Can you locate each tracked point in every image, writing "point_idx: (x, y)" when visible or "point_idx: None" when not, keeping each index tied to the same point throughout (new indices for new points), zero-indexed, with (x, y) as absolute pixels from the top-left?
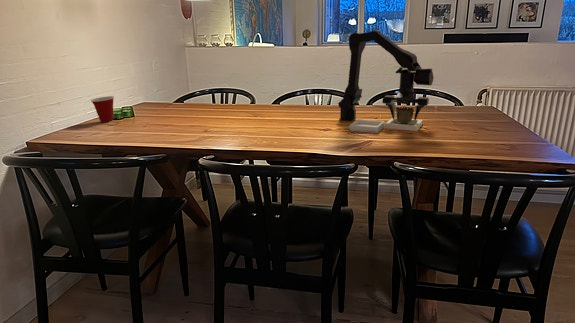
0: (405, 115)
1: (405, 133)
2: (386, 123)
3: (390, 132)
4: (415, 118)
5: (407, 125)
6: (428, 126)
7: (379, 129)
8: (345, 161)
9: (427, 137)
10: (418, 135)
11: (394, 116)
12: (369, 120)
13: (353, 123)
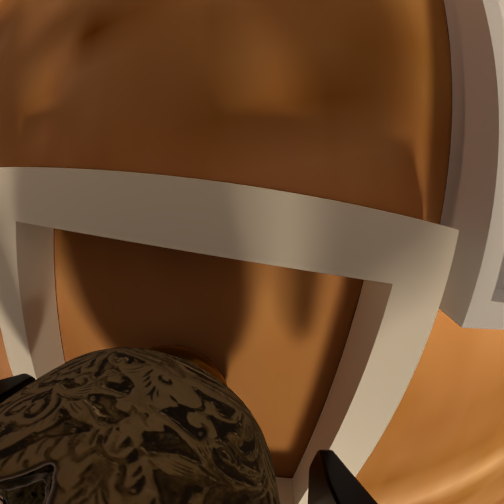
0: (49, 393)
1: (141, 12)
2: (438, 252)
3: (324, 7)
4: (3, 382)
5: (78, 172)
6: (8, 369)
7: (461, 36)
8: None
9: (11, 3)
10: (45, 12)
11: (310, 496)
12: None
13: None
